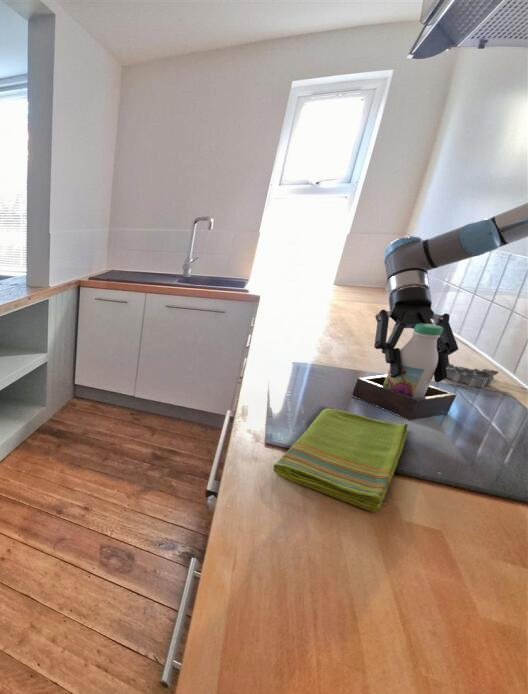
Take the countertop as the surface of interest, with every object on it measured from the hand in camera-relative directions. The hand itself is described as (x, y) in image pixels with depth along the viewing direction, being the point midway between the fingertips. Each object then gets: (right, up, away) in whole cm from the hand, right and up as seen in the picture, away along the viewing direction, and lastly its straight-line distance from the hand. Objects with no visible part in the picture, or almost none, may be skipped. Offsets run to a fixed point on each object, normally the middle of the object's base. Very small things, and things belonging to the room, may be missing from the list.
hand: (418, 377), depth 95 cm
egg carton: (+32, -1, +21) cm, 38 cm away
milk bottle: (+1, -7, +7) cm, 9 cm away
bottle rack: (+1, -7, +6) cm, 9 cm away
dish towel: (-28, -16, -14) cm, 35 cm away
